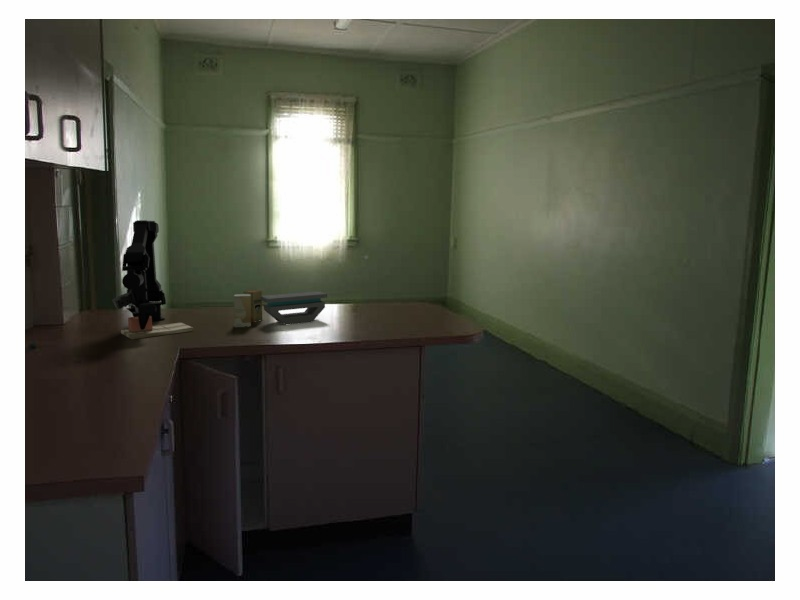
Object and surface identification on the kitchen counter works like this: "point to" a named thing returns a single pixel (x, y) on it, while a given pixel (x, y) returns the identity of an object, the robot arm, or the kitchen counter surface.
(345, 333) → the kitchen counter surface
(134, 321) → the block
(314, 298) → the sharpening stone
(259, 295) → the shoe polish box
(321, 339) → the kitchen counter surface
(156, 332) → the cream flat rectangular board
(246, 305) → the skincare box
